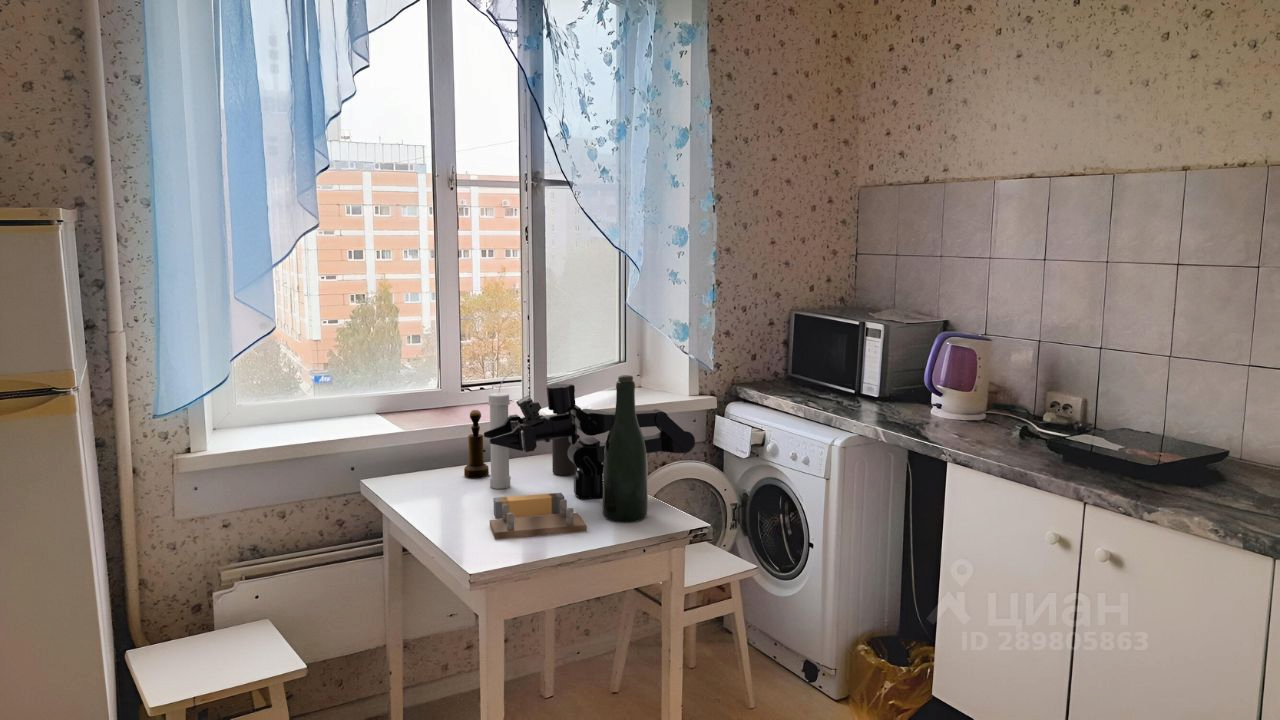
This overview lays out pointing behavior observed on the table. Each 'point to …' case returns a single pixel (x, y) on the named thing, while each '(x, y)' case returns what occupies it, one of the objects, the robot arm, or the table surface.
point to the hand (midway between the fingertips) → (486, 437)
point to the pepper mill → (476, 450)
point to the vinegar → (562, 456)
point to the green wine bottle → (625, 460)
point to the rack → (537, 523)
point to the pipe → (498, 453)
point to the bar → (529, 505)
